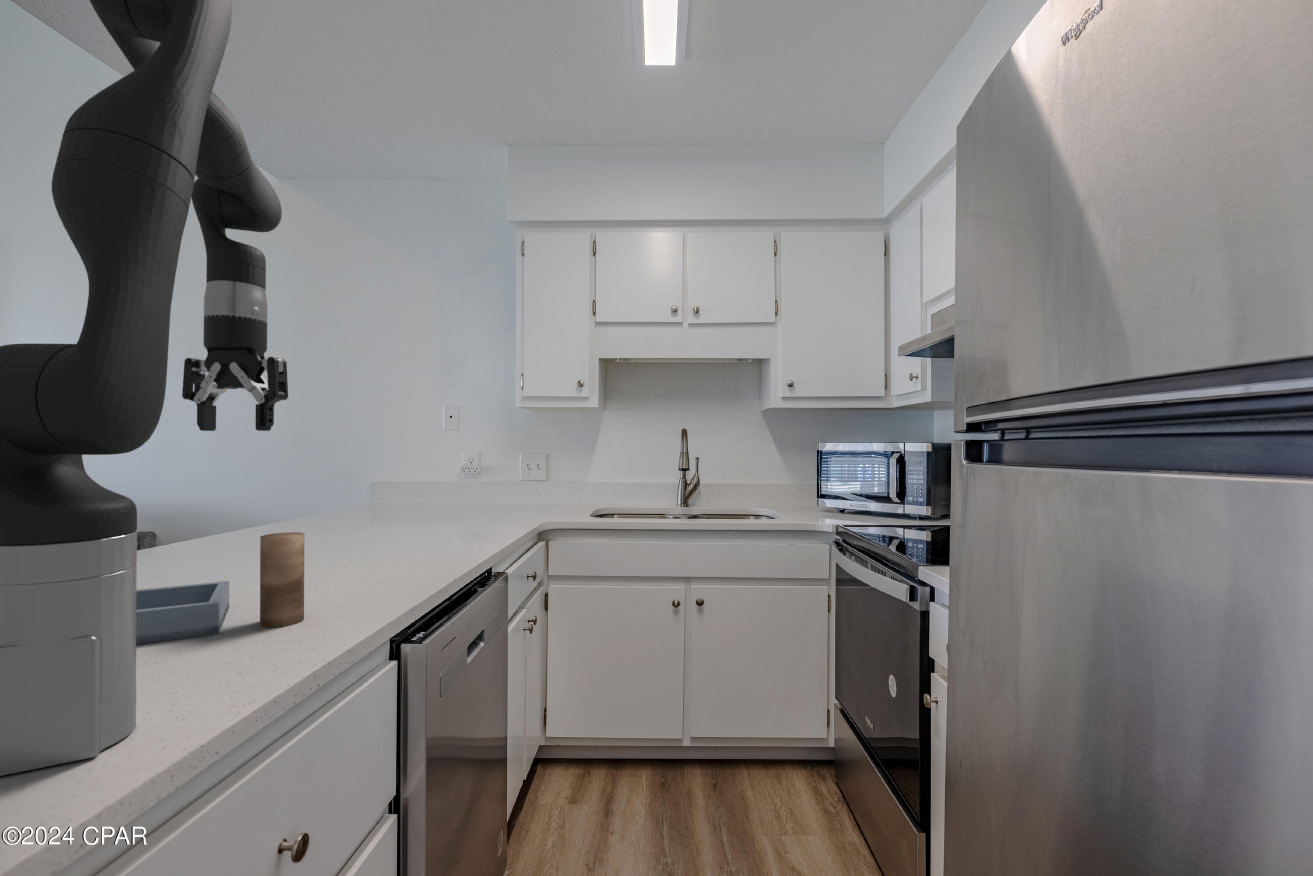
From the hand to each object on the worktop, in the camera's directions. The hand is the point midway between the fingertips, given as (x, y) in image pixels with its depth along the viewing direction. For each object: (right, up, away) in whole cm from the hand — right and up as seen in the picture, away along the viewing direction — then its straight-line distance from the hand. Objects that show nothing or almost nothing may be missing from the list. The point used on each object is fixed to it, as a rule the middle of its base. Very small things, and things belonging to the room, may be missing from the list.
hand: (235, 430), depth 86 cm
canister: (+9, -27, -3) cm, 28 cm away
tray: (-6, -27, -6) cm, 28 cm away
